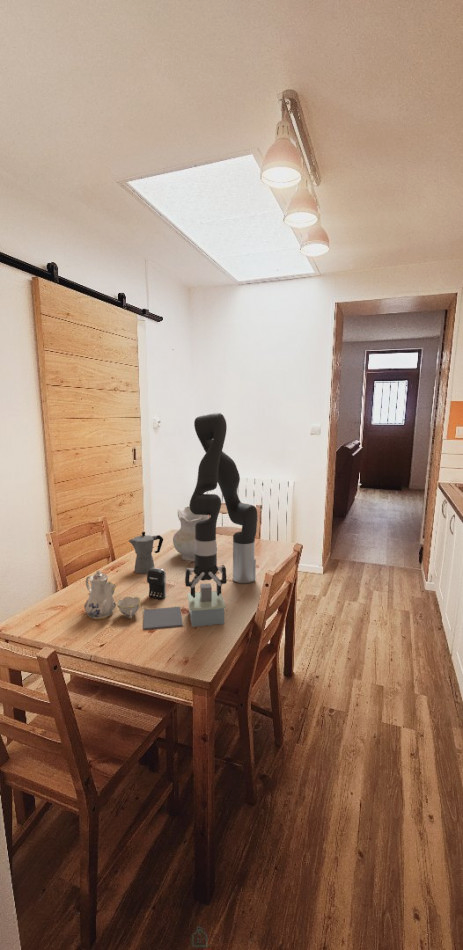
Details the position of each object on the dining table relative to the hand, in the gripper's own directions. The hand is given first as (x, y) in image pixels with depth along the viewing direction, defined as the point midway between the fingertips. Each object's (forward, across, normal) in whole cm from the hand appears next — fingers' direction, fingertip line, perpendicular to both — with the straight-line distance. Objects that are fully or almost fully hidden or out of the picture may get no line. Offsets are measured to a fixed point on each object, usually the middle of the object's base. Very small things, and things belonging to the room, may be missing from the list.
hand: (205, 595), depth 144 cm
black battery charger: (+8, +17, -19) cm, 27 cm away
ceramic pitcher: (+8, -2, -60) cm, 61 cm away
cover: (+2, 0, 0) cm, 2 cm away
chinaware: (+8, +34, -12) cm, 37 cm away
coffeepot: (+8, +21, -48) cm, 53 cm away
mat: (+8, +15, -2) cm, 17 cm away
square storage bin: (+8, 0, 0) cm, 8 cm away
